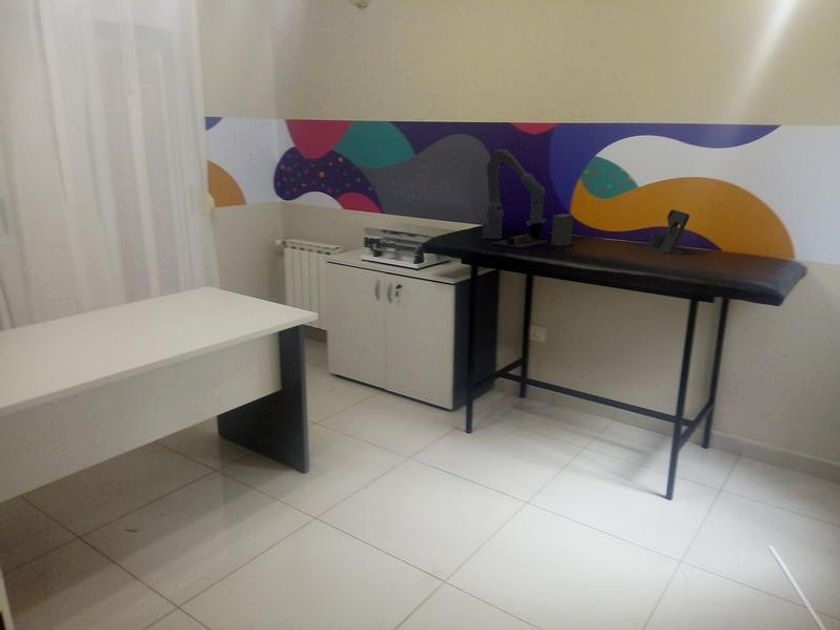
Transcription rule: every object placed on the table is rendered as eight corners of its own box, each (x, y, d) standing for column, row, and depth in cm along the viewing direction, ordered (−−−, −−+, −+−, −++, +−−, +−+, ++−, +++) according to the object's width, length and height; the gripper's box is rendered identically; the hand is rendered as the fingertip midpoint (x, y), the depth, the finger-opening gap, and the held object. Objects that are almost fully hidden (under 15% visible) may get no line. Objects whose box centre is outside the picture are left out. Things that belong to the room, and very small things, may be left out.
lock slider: (523, 241, 295) (524, 237, 295) (527, 241, 297) (527, 236, 297) (527, 242, 294) (528, 237, 293) (531, 241, 296) (531, 237, 295)
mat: (490, 244, 295) (490, 242, 294) (519, 238, 311) (519, 236, 311) (520, 249, 283) (520, 247, 282) (549, 242, 299) (549, 241, 299)
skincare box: (561, 244, 296) (563, 213, 292) (571, 246, 292) (574, 214, 287) (550, 246, 291) (552, 214, 287) (560, 248, 286) (562, 216, 282)
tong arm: (509, 244, 289) (509, 238, 288) (524, 240, 298) (525, 235, 297) (511, 244, 288) (511, 238, 288) (526, 241, 297) (526, 235, 297)
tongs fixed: (506, 244, 290) (506, 237, 289) (526, 240, 301) (526, 233, 301) (510, 245, 289) (511, 238, 288) (530, 240, 300) (530, 234, 299)
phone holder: (648, 247, 290) (652, 209, 285) (669, 247, 290) (673, 209, 285) (664, 254, 273) (669, 214, 268) (686, 254, 274) (692, 214, 269)
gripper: (535, 213, 288) (533, 241, 292) (552, 210, 298) (550, 238, 302) (522, 211, 293) (521, 239, 297) (539, 209, 303) (538, 236, 307)
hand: (535, 238), depth 300 cm, fingers closed
